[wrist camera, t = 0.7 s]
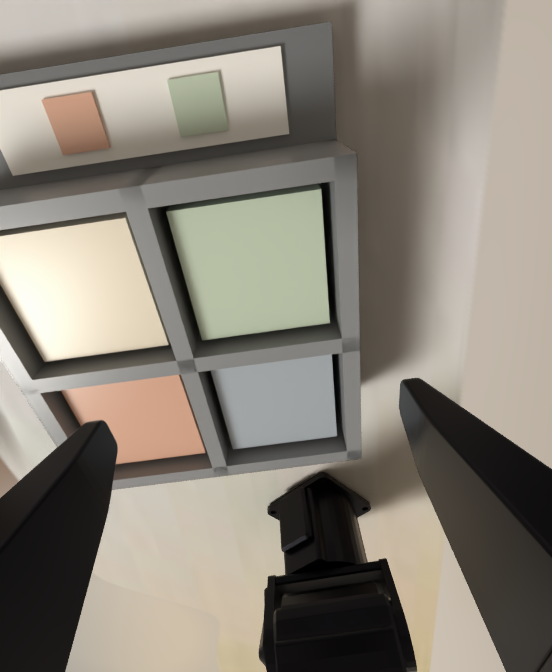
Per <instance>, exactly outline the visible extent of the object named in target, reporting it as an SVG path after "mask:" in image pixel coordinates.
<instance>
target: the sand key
mask: <svg viewBox="0 0 552 672" xmlns="http://www.w3.org/2000/svg"><path fill="white" fill-rule="evenodd" d="M0 285H1V287H2V288H3V290H4V292H5V294H6V295H7V297H8V299H9V301H10V302H11V304H12V306H13V308H14V309H15V311H16V313H17V315H18V316H19V318H20V320H21V322H22V323H23V325H24V327H25V329H26V330H27V332H28V334H29V336H30V337H31V339H32V341H33V343H34V344H35V346H36V348H37V350H38V351H39V353H40V355H41V357H42V358H43V360H44V362H47V361H55V360H62V359H69V358H77V357H84V356H92V355H99V354H106V353H114V352H121V351H128V350H136V349H143V348H150V347H158V346H165V345H169V343H170V340H169V337H168V334H167V331H166V329H165V326H164V323H163V320H162V317H161V314H160V311H159V308H158V305H157V302H156V299H155V296H154V293H153V290H152V287H151V284H150V281H149V278H148V275H147V272H146V269H145V266H144V263H143V260H142V258H141V255H140V252H139V249H138V246H137V243H136V240H135V237H134V234H133V231H132V228H131V225H130V222H129V219H128V216H127V213H126V212H121V213H114V214H107V215H100V216H93V217H87V218H80V219H73V220H66V221H59V222H53V223H46V224H39V225H32V226H26V227H19V228H12V229H5V230H0Z"/></svg>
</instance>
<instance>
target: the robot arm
mask: <svg viewBox="0 0 552 672" xmlns="http://www.w3.org/2000/svg"><path fill="white" fill-rule="evenodd" d="M399 409H400V414H401V418H402V421H403V424H404V428H405V431H406V434H407V437H408V441H409V444H410V447H411V450H412V454H413V457H414V460H415V463H416V466H417V469H418V472H419V475H420V477H421V480H422V482H423V484H424V487H425V489H426V491H427V493H428V496H429V498H430V500H431V502H432V505H433V507H434V509H435V511H436V514H437V516H438V518H439V521H440V523H441V525H442V527H443V530H444V532H445V534H446V536H447V539H448V541H449V543H450V545H451V548H452V550H453V552H454V555H455V557H456V559H457V561H458V564H459V566H460V568H461V570H462V573H463V575H464V577H465V579H466V582H467V584H468V586H469V588H470V591H471V593H472V595H473V597H474V600H475V602H476V604H477V607H478V609H479V611H480V613H481V616H482V618H483V620H484V622H485V625H486V627H487V629H488V631H489V633H490V636H491V638H492V641H493V643H494V645H495V647H496V650H497V652H498V654H499V656H500V659H501V661H502V663H503V666H504V668H505V670H506V672H552V469H551V468H549V467H548V466H546V465H545V464H543V463H542V462H541V461H539V460H538V459H536V458H535V457H533V456H532V455H530V454H529V453H527V452H526V451H525V450H523V449H522V448H520V447H519V446H517V445H516V444H514V443H513V442H512V441H510V440H509V439H507V438H506V437H504V436H503V435H501V434H500V433H498V432H497V431H495V430H494V429H493V428H491V427H490V426H488V425H487V424H485V423H484V422H482V421H481V420H479V419H478V418H477V417H475V416H474V415H472V414H471V413H470V412H468V411H467V410H465V409H464V408H462V407H461V406H459V405H458V404H456V403H455V402H454V401H452V400H451V399H449V398H448V397H446V396H445V395H443V394H442V393H441V392H439V391H438V390H436V389H435V388H433V387H432V386H430V385H429V384H427V383H426V382H425V381H423V380H422V379H420V378H411V379H404V380H402V381H401V384H400V398H399ZM117 453H118V446H117V442H116V440H115V438H114V436H113V434H112V432H111V430H110V429H109V427H108V425H107V423H106V422H105V421H104V420H96V421H89V422H86V423H84V424H83V425H82V426H81V427H80V428H79V429H78V430H76V431H75V432H74V433H73V434H72V435H71V436H70V437H69V438H67V439H66V440H65V441H64V442H63V443H62V444H61V445H60V446H58V447H57V448H56V449H55V450H54V451H53V452H52V453H51V454H49V455H48V456H47V457H46V458H45V459H44V460H43V461H42V462H40V463H39V464H38V465H37V466H36V467H35V468H34V469H33V470H31V471H30V472H29V473H28V474H27V475H26V476H25V477H24V478H22V479H21V480H20V481H19V482H18V483H17V484H16V485H15V486H14V487H12V488H11V489H10V490H9V491H8V492H7V493H6V494H5V495H3V496H2V497H1V498H0V672H65V670H66V666H67V663H68V659H69V655H70V652H71V648H72V644H73V641H74V637H75V633H76V629H77V626H78V622H79V618H80V615H81V611H82V607H83V603H84V599H85V596H86V592H87V588H88V585H89V581H90V577H91V574H92V570H93V566H94V563H95V559H96V555H97V551H98V548H99V544H100V540H101V537H102V533H103V529H104V525H105V522H106V518H107V514H108V509H109V504H110V498H111V491H112V485H113V479H114V472H115V466H116V459H117ZM370 509H371V506H370V503H369V502H368V501H366V500H365V499H363V498H362V497H360V496H359V495H357V494H356V493H354V492H353V491H351V490H350V489H349V488H347V487H346V486H344V485H343V484H341V483H340V482H338V481H337V480H335V479H334V478H332V477H331V476H329V475H328V474H326V473H320V474H318V475H316V476H315V477H313V478H312V479H310V480H309V481H307V482H305V483H304V484H302V485H301V486H299V487H298V488H296V489H294V490H293V491H291V492H290V493H288V494H287V495H285V496H283V497H282V498H280V499H279V500H277V501H276V502H274V503H273V504H271V505H269V506H268V514H269V515H270V516H272V517H274V518H276V519H278V520H279V521H280V533H281V549H282V551H283V552H284V560H285V575H282V576H276V575H273V576H268V586H267V588H266V589H265V590H264V596H265V608H264V622H263V628H262V634H261V640H260V646H259V659H260V660H261V662H262V663H263V664H264V665H265V666H266V670H267V672H417V666H416V660H415V655H414V650H413V646H412V642H411V638H410V634H409V630H408V626H407V622H406V619H405V615H404V612H403V609H402V606H401V603H400V600H399V596H398V593H397V590H396V587H395V584H394V581H393V578H392V575H391V571H390V568H389V565H388V562H387V559H386V558H384V559H379V561H374V562H367V558H366V553H365V549H364V545H363V541H362V536H361V532H360V528H359V524H358V520H357V517H359V516H361V515H363V514H365V513H366V512H368V511H370Z"/></svg>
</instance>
